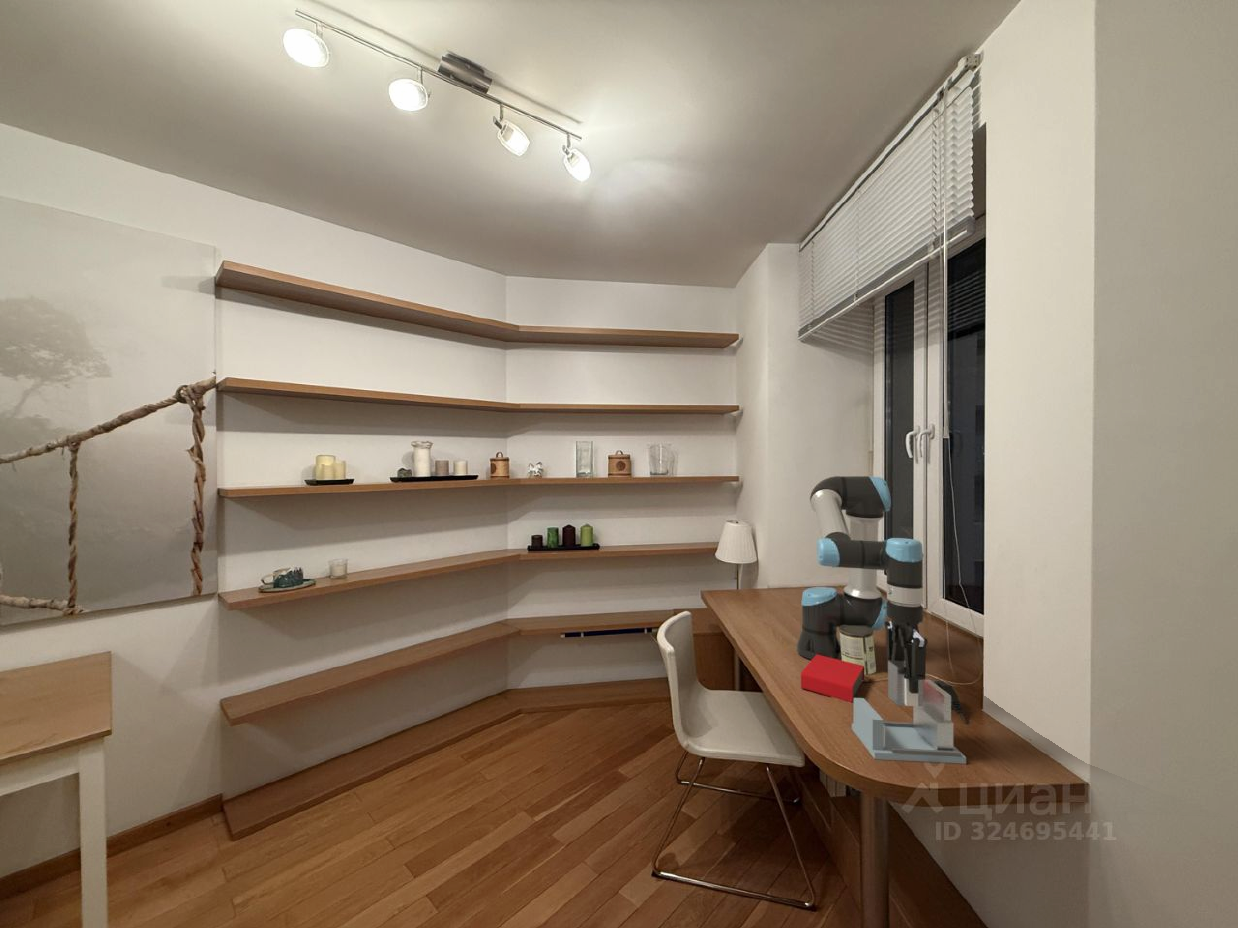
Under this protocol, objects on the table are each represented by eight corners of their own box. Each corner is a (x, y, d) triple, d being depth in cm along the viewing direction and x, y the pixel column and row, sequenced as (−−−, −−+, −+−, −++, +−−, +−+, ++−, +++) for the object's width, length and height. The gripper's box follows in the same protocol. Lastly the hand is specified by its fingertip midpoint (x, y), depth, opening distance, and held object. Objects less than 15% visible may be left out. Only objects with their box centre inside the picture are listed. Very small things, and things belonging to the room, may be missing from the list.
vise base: (851, 728, 116) (851, 695, 116) (933, 732, 114) (933, 699, 114) (874, 758, 104) (874, 722, 104) (966, 763, 102) (966, 726, 102)
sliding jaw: (913, 727, 114) (913, 677, 114) (927, 727, 113) (927, 678, 113) (937, 751, 104) (937, 696, 104) (953, 751, 104) (953, 697, 104)
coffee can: (843, 662, 158) (840, 622, 159) (877, 667, 153) (873, 625, 153) (840, 674, 150) (836, 631, 150) (875, 680, 144) (872, 635, 145)
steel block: (888, 697, 111) (887, 660, 111) (912, 697, 111) (912, 660, 111) (897, 705, 107) (897, 667, 107) (923, 706, 107) (922, 667, 107)
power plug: (958, 722, 118) (931, 676, 127) (944, 734, 122) (920, 689, 132) (979, 721, 118) (951, 676, 127) (964, 734, 122) (938, 689, 132)
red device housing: (817, 668, 152) (817, 653, 152) (864, 681, 143) (864, 665, 143) (800, 688, 138) (800, 672, 138) (852, 704, 129) (852, 686, 129)
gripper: (870, 593, 118) (870, 683, 118) (910, 612, 101) (911, 718, 101) (899, 594, 118) (900, 684, 117) (944, 613, 101) (945, 719, 100)
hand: (905, 700), depth 109 cm, fingers closed on steel block, 4 cm apart
